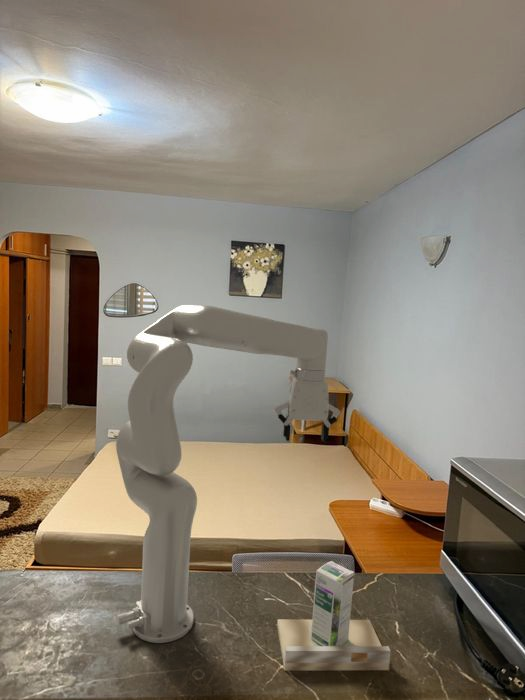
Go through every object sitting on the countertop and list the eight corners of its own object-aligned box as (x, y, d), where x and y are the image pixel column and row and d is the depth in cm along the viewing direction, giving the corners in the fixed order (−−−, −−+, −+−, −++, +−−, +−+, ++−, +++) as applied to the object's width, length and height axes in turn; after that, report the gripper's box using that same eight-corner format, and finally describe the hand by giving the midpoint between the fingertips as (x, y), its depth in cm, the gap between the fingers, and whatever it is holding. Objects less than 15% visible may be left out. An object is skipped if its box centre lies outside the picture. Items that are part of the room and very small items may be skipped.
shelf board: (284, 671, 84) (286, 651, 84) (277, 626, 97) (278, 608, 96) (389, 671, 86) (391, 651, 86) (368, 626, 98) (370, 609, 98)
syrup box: (309, 639, 91) (314, 569, 90) (325, 625, 95) (331, 559, 94) (333, 654, 87) (339, 582, 86) (349, 639, 92) (355, 570, 90)
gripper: (278, 376, 114) (274, 443, 115) (346, 379, 115) (341, 445, 117) (275, 372, 121) (271, 434, 122) (339, 375, 123) (334, 437, 124)
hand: (305, 440), depth 120 cm, fingers open, 9 cm apart
